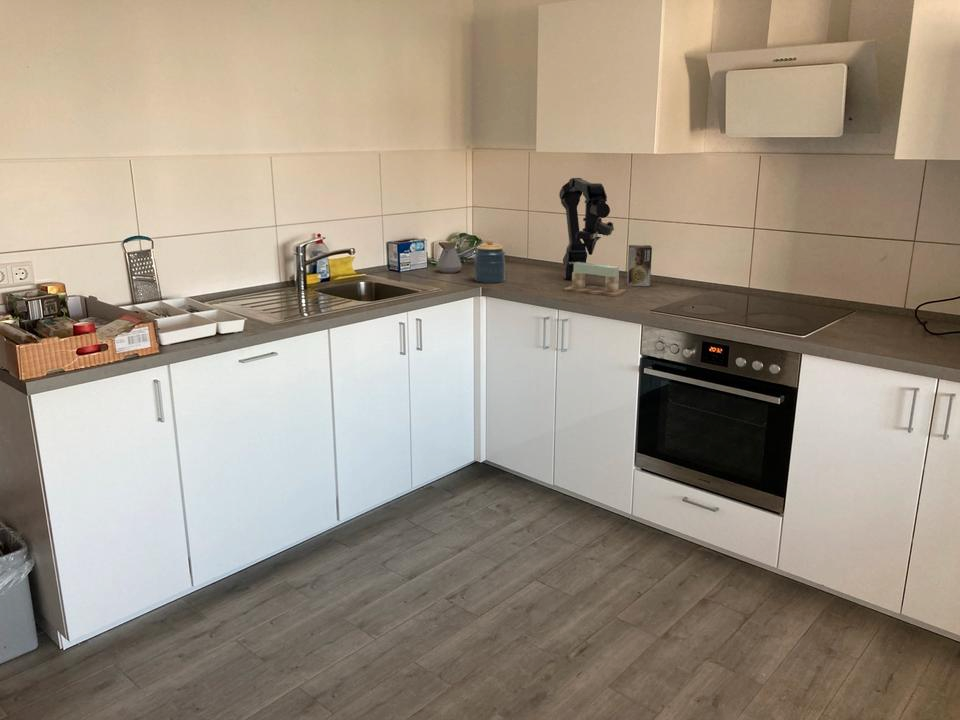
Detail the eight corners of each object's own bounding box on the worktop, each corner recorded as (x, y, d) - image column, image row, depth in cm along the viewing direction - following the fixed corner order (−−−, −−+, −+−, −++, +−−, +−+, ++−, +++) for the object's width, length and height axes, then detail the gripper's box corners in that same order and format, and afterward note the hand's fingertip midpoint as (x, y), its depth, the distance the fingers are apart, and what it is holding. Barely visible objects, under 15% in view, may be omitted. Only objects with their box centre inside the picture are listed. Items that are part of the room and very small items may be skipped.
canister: (503, 277, 331) (504, 236, 326) (506, 283, 319) (506, 240, 314) (473, 278, 331) (474, 236, 326) (474, 283, 318) (474, 240, 313)
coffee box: (648, 283, 320) (651, 245, 315) (650, 286, 314) (652, 247, 309) (626, 283, 321) (628, 244, 316) (627, 286, 315) (629, 246, 310)
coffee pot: (440, 269, 352) (440, 236, 348) (464, 270, 349) (464, 237, 345) (426, 277, 332) (425, 242, 328) (451, 278, 329) (451, 243, 325)
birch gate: (563, 290, 304) (564, 273, 302) (574, 286, 313) (575, 269, 311) (616, 296, 293) (617, 278, 291) (626, 292, 302) (627, 274, 300)
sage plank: (573, 272, 305) (573, 263, 304) (578, 270, 308) (579, 262, 307) (613, 277, 294) (614, 268, 293) (618, 275, 297) (619, 266, 296)
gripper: (602, 218, 294) (600, 259, 298) (619, 214, 309) (617, 253, 314) (576, 217, 299) (574, 257, 303) (593, 213, 315) (592, 251, 319)
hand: (590, 254), depth 310 cm, fingers closed
